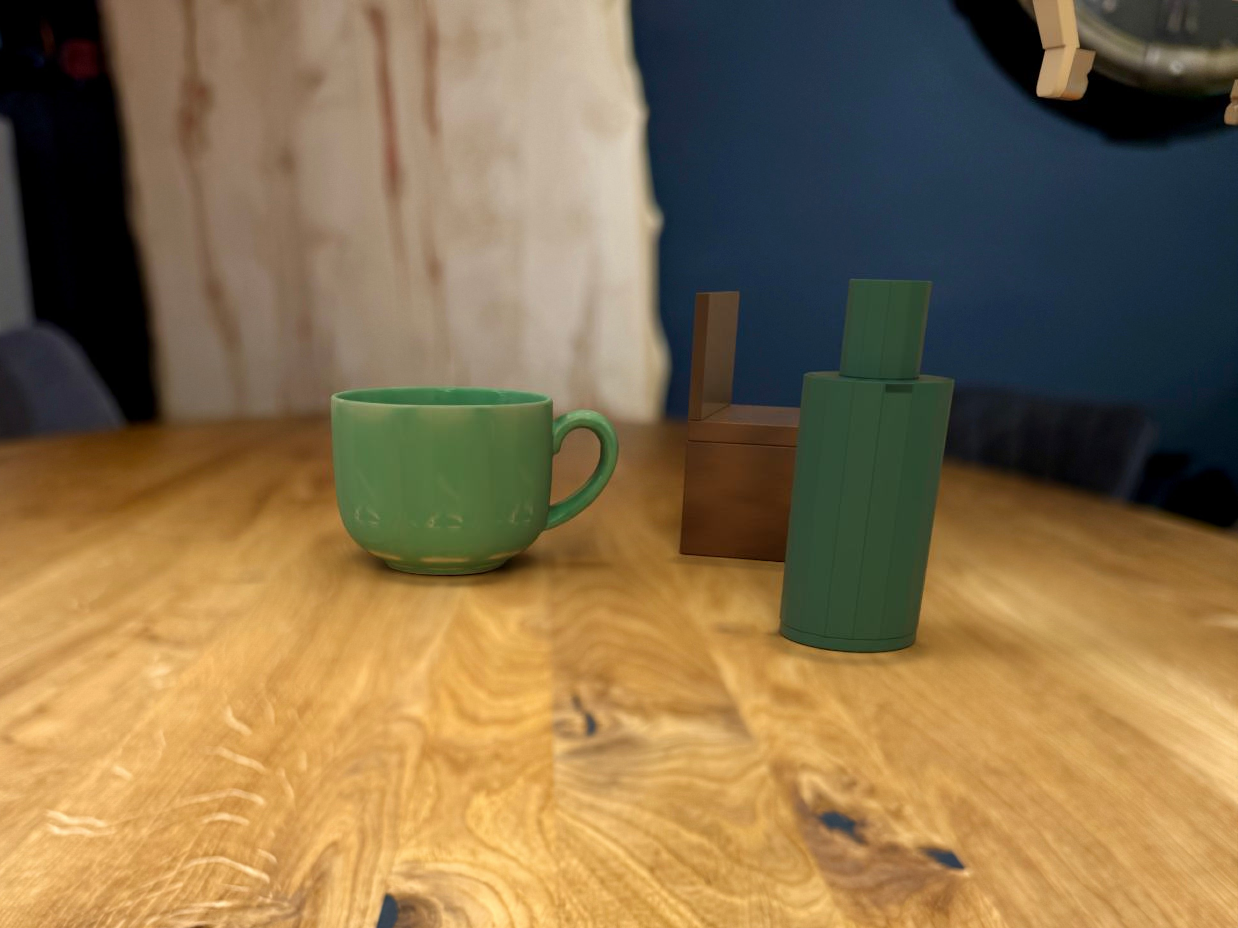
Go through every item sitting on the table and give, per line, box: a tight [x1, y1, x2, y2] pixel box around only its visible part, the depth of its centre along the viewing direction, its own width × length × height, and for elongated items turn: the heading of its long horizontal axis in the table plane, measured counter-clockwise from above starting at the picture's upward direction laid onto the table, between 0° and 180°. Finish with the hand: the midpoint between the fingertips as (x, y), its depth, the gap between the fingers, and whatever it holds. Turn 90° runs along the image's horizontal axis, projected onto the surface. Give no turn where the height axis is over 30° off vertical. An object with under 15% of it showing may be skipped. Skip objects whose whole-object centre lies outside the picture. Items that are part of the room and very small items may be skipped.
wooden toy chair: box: [679, 290, 800, 563], centre depth 84 cm, size 11×12×15 cm
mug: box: [330, 386, 620, 576], centre depth 76 cm, size 17×13×10 cm
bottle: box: [778, 278, 955, 653], centre depth 62 cm, size 7×7×16 cm
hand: (1154, 112), depth 58 cm, fingers open, 8 cm apart
